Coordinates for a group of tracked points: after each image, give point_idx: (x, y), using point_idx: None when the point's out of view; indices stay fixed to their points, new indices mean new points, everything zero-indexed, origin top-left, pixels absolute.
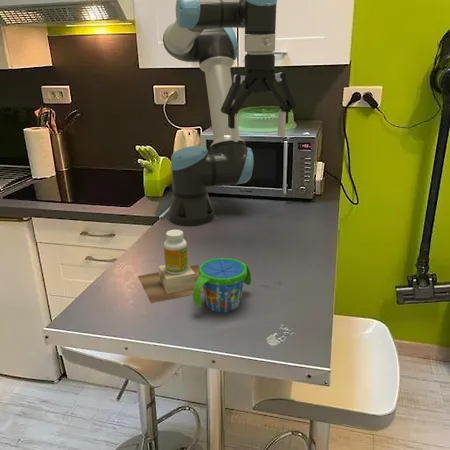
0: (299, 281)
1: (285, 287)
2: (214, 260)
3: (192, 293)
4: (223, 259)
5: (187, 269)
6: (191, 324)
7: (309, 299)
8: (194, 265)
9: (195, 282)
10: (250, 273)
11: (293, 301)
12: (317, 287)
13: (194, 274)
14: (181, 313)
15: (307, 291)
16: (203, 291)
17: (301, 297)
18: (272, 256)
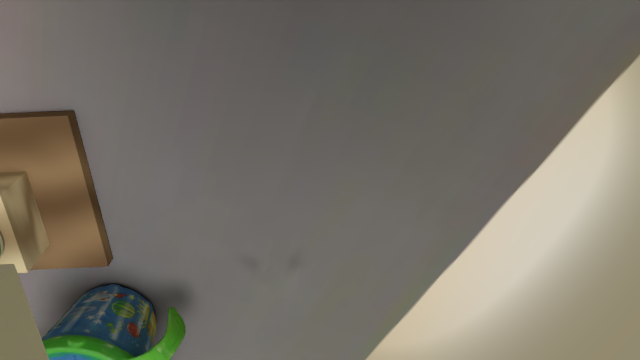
0: (348, 269)
1: (298, 283)
2: (58, 354)
3: (39, 265)
4: (87, 355)
5: (4, 245)
6: None
7: (328, 340)
8: (55, 116)
9: (51, 217)
10: (178, 345)
11: (288, 336)
12: (376, 305)
13: (27, 271)
14: None
15: (342, 312)
16: (70, 265)
17: (314, 329)
18: (348, 109)
